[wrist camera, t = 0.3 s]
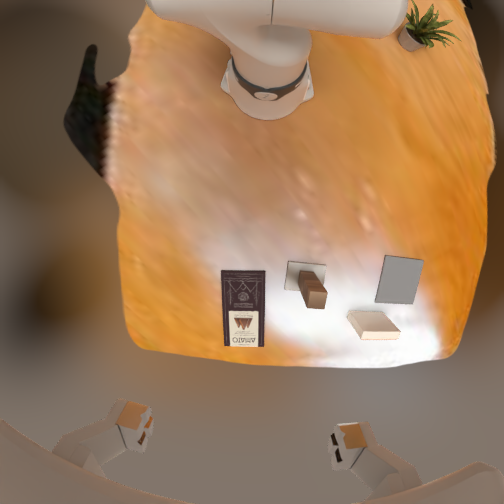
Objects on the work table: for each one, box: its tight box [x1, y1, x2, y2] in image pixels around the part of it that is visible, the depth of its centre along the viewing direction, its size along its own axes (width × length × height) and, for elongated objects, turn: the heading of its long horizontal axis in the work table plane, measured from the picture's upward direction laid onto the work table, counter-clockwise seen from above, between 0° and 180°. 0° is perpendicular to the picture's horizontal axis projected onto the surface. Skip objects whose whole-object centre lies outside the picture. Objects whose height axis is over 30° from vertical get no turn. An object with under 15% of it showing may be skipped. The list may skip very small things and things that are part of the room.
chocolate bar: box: [221, 270, 265, 347], centre depth 58 cm, size 9×1×18 cm
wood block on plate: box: [284, 261, 327, 309], centre depth 50 cm, size 6×8×13 cm
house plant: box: [398, 0, 461, 51], centre depth 35 cm, size 14×14×16 cm
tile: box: [347, 311, 401, 340], centre depth 53 cm, size 2×9×10 cm, turn 84°
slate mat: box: [375, 255, 424, 304], centre depth 56 cm, size 11×11×1 cm
